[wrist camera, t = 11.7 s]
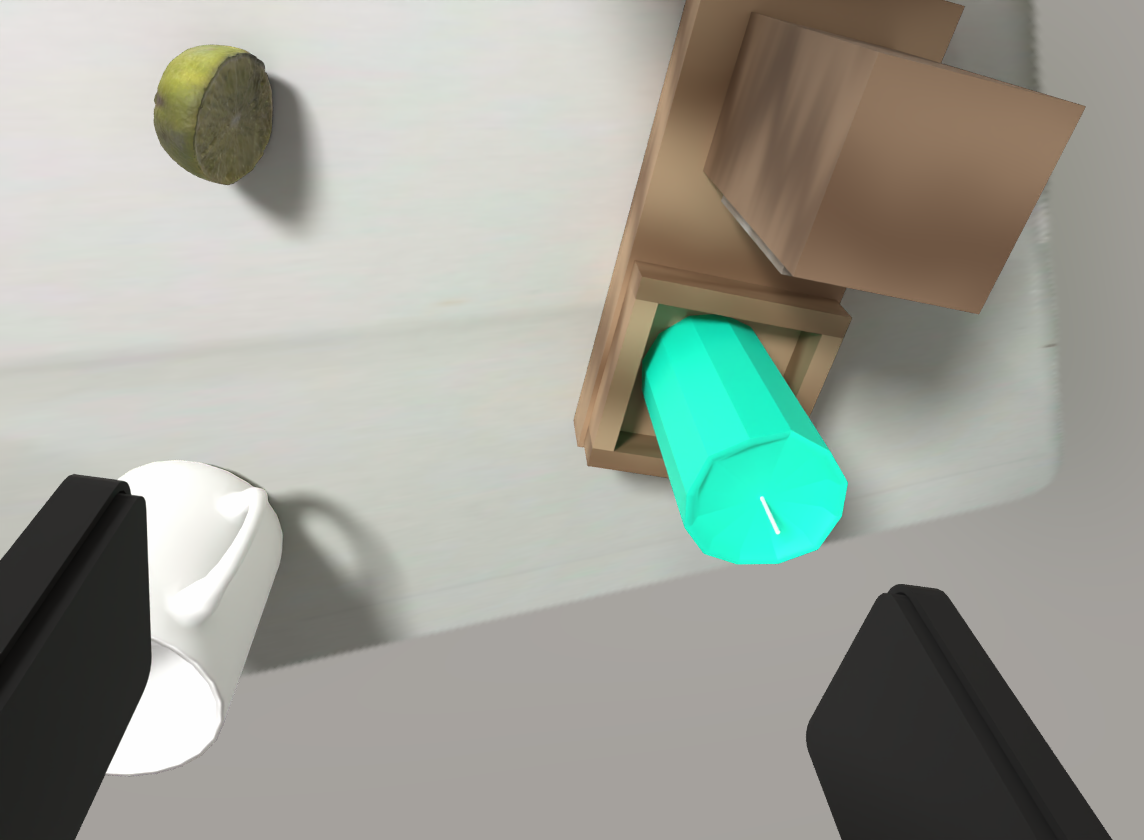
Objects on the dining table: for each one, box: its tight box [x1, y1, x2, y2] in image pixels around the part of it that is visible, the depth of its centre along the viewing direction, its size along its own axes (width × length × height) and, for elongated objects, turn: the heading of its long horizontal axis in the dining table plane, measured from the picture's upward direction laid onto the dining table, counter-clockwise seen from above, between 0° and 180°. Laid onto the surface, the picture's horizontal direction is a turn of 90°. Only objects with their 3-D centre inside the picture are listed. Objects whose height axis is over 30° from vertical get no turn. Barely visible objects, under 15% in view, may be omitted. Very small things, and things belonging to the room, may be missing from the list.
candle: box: [642, 314, 848, 564], centre depth 33 cm, size 6×6×12 cm
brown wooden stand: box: [574, 0, 1085, 478], centre depth 31 cm, size 22×10×14 cm, turn 167°
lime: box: [154, 45, 273, 185], centre depth 31 cm, size 4×5×5 cm
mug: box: [105, 460, 283, 776], centre depth 38 cm, size 10×12×12 cm
